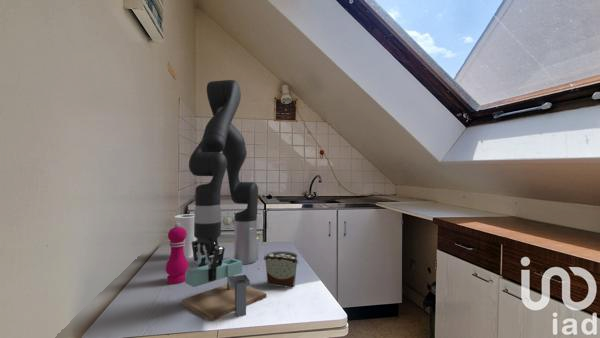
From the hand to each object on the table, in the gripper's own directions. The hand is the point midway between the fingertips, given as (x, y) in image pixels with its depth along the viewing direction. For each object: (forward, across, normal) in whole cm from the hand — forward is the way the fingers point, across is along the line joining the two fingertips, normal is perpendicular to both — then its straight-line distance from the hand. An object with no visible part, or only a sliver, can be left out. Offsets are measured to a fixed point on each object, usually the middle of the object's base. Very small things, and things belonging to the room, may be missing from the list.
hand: (207, 278), depth 87 cm
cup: (+7, +46, -19) cm, 50 cm away
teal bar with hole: (0, 0, -2) cm, 3 cm away
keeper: (+6, -12, -2) cm, 14 cm away
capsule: (+7, 0, -8) cm, 10 cm away
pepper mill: (+7, +22, -2) cm, 23 cm away
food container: (+7, -7, -25) cm, 27 cm away
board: (+7, -4, -4) cm, 8 cm away
